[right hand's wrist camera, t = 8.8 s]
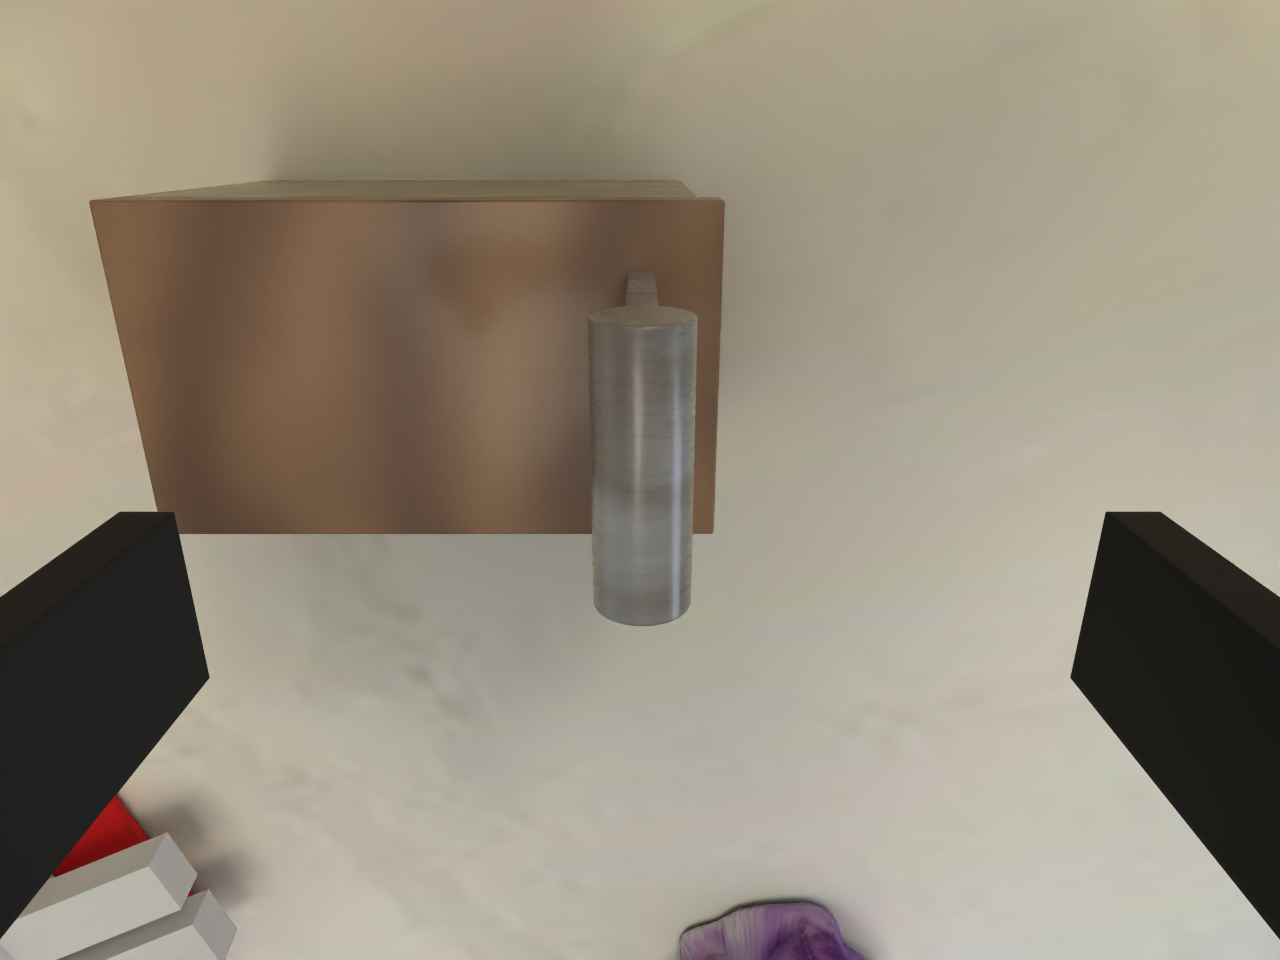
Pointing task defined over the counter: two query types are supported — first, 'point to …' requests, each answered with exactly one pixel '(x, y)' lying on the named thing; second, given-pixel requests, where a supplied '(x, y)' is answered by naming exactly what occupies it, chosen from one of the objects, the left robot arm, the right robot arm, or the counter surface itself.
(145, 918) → the toy
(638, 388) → the lid
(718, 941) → the figurine
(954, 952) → the counter surface
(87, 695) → the right robot arm
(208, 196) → the chest
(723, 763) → the counter surface
